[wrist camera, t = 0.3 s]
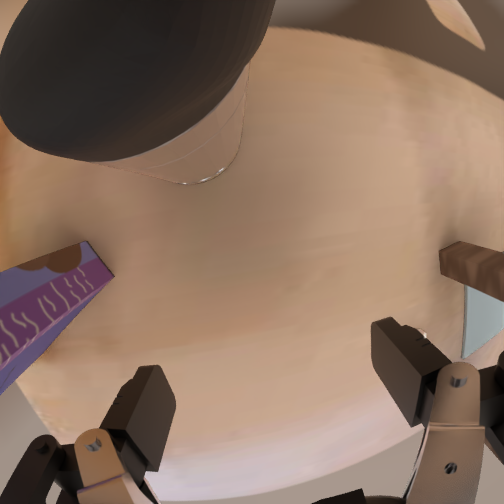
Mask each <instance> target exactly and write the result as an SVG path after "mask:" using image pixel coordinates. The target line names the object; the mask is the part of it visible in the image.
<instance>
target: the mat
mask: <svg viewBox="0 0 504 504" xmlns="http://www.w3.org/2000/svg"><path fill="white" fill-rule="evenodd" d="M503 253H504V252H503ZM503 329H504V302H502V301H500V300H498V299H495V298H493V297H491V296H489V295H487V294H485V293H482V292H480V291H478V290H476V289H474V288H471V287H469V286H467V285H465V315H464V334H463V346H462V356H461V358H462V359H465V358H466V357H468V356H469V355H470V354H472V353H473V352H475V351H476V350H477V349H479V348H480V347H481V346H483V345H484V344H485V343H486V342H488V341H489V340H490V339H492V338H493V337H494V336H495V335H496V334H498V333H499V332H500V331H501V330H503Z"/></svg>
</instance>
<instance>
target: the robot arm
mask: <svg viewBox="0 0 504 504" xmlns="http://www.w3.org/2000/svg"><path fill="white" fill-rule="evenodd" d="M274 4H275V0H28V2H27V3H26V4H25V6H24V8H23V9H22V10H21V12H20V13H19V15H18V16H17V18H16V20H15V22H14V23H13V25H12V27H11V29H10V31H9V33H8V35H7V38H6V39H5V42H4V45H3V48H2V51H1V54H0V115H1V117H2V119H3V121H4V123H5V125H6V126H7V128H8V129H9V130H10V132H11V133H12V134H13V135H14V136H15V137H16V138H17V139H19V140H20V141H22V142H23V143H25V144H26V145H28V146H29V147H32V148H34V149H36V150H38V151H41V152H44V153H47V154H51V155H55V156H60V157H65V158H70V159H74V160H80V161H86V162H90V163H95V164H99V165H104V166H108V167H113V168H117V169H123V170H127V171H131V172H135V173H139V174H143V175H147V176H151V177H155V178H159V179H163V180H167V181H171V182H175V183H178V184H198V183H202V182H206V181H208V180H210V179H212V178H215V177H216V176H218V175H219V174H220V173H222V172H223V171H224V170H225V169H226V168H227V167H228V166H229V165H230V164H231V163H232V161H233V159H234V158H235V156H236V154H237V152H238V149H239V146H240V140H241V133H242V126H243V118H244V109H245V101H246V93H247V85H248V77H249V67H250V60H251V58H252V57H253V56H254V54H255V53H256V51H257V49H258V48H259V46H260V45H261V42H262V40H263V38H264V36H265V33H266V30H267V27H268V24H269V21H270V18H271V15H272V11H273V8H274ZM371 358H372V363H373V367H374V369H375V371H376V373H377V374H378V376H379V377H380V379H381V381H382V382H383V384H384V385H385V387H386V388H387V390H388V391H389V393H390V395H391V396H392V398H393V399H394V401H395V403H396V404H397V406H398V407H399V409H400V411H401V412H402V414H403V415H404V417H405V419H406V420H407V422H408V423H409V425H410V427H411V428H412V427H414V426H416V425H418V424H421V423H422V424H423V426H424V427H425V429H424V432H423V436H422V440H421V443H420V447H419V450H418V454H417V457H416V460H415V463H414V466H413V469H412V472H411V475H410V478H409V481H408V483H407V485H406V488H405V490H404V492H403V495H402V497H401V498H400V497H393V496H381V495H379V496H364V493H363V490H362V488H361V489H358V490H355V491H351V492H348V493H345V494H341V495H337V496H334V497H329V498H325V499H321V500H319V501H317V502H314V503H312V504H474V503H475V498H476V494H477V489H478V484H479V479H480V473H481V466H482V458H483V450H484V440H485V437H486V438H487V440H488V441H489V443H490V444H491V446H492V447H493V449H494V450H495V452H496V454H497V455H498V457H499V458H500V460H501V461H502V463H503V465H504V351H503V352H502V353H501V354H500V356H499V359H498V362H497V365H495V366H491V367H488V368H484V369H480V370H477V369H476V368H475V367H474V366H473V365H471V364H469V363H465V362H454V363H452V362H451V361H450V360H449V359H448V358H447V357H446V356H445V355H444V354H443V353H442V352H441V351H440V350H439V349H438V348H436V347H435V346H434V345H433V344H431V342H430V341H429V340H428V339H427V338H425V337H424V335H423V334H422V333H420V332H419V331H418V330H417V329H415V328H412V327H410V326H407V325H404V326H401V325H400V324H398V323H397V322H396V321H395V320H394V319H393V318H392V317H388V318H384V319H381V320H378V321H375V322H372V324H371ZM175 410H176V400H175V396H174V394H173V392H172V389H171V387H170V385H169V383H168V381H167V379H166V377H165V375H164V372H163V370H162V368H161V367H160V366H159V365H149V366H140V367H139V368H138V370H137V372H136V373H135V375H134V377H133V379H130V380H129V381H128V382H127V383H126V384H124V385H123V386H122V387H121V389H120V391H119V393H118V394H117V398H115V400H114V401H113V405H111V407H110V409H109V411H108V412H107V414H106V416H105V418H104V420H103V421H102V423H101V425H100V427H99V429H98V428H97V429H91V430H88V431H86V432H84V433H82V434H81V435H80V436H79V437H78V438H77V440H76V442H75V444H67V445H60V444H59V442H58V441H57V440H56V439H55V437H53V436H52V435H41V436H39V437H37V438H36V439H34V440H33V441H32V442H31V444H30V445H29V447H28V448H27V450H26V452H25V453H24V455H23V457H22V458H21V460H20V462H19V464H18V465H17V467H16V469H15V471H14V472H13V474H12V476H11V478H10V480H9V481H8V483H7V485H6V487H5V489H4V490H3V492H2V494H1V496H0V504H46V497H47V494H48V492H49V490H50V488H51V486H52V483H53V481H54V482H55V483H56V484H57V485H58V486H60V487H61V488H62V490H61V492H60V495H59V497H58V500H57V502H56V504H161V502H160V501H159V499H158V498H157V496H156V494H155V493H154V491H153V489H152V488H151V486H150V484H149V483H148V481H147V480H146V478H145V477H144V475H145V472H146V471H152V472H158V470H159V466H160V463H161V459H162V455H163V452H164V448H165V445H166V441H167V437H168V434H169V430H170V427H171V423H172V420H173V416H174V413H175Z"/></svg>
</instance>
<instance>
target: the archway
mask: <svg viewBox="0 0 504 504" xmlns="http://www.w3.org/2000/svg"><path fill="white" fill-rule="evenodd" d="M439 257H440V268H441V274H442V275H444V276H446V277H449V278H451V279H453V280H456V281H458V282H460V283H462V284H465V285H467V286H469V287H471V288H474V289H476V290H478V291H480V292H482V293H485V294H487V295H489V296H491V297H493V298H495V299H498V300H500V301H502V302H504V253H502V252H498V251H494V250H491V249H487V248H484V247H480V246H476V245H472V244H469V243H465V242H461V241H459V242H457V243H455V244H453V245H451V246H449V247H447V248H444V249H442V250H440V251H439ZM484 443H485V444H486V445H487V446H488V448H489V449H490V450H491V451H492V452H493V453H494V454H495V456H496V457H497V458H498V459H499V460H500V458H499V457H498V455H497V454H496V452H495V450H494V449H493V447H492V446H491V444H490V443H489V441H488V440H487V438H486V437H485V440H484ZM500 461H501V460H500ZM501 463H502V461H501ZM502 464H503V463H502Z"/></svg>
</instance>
